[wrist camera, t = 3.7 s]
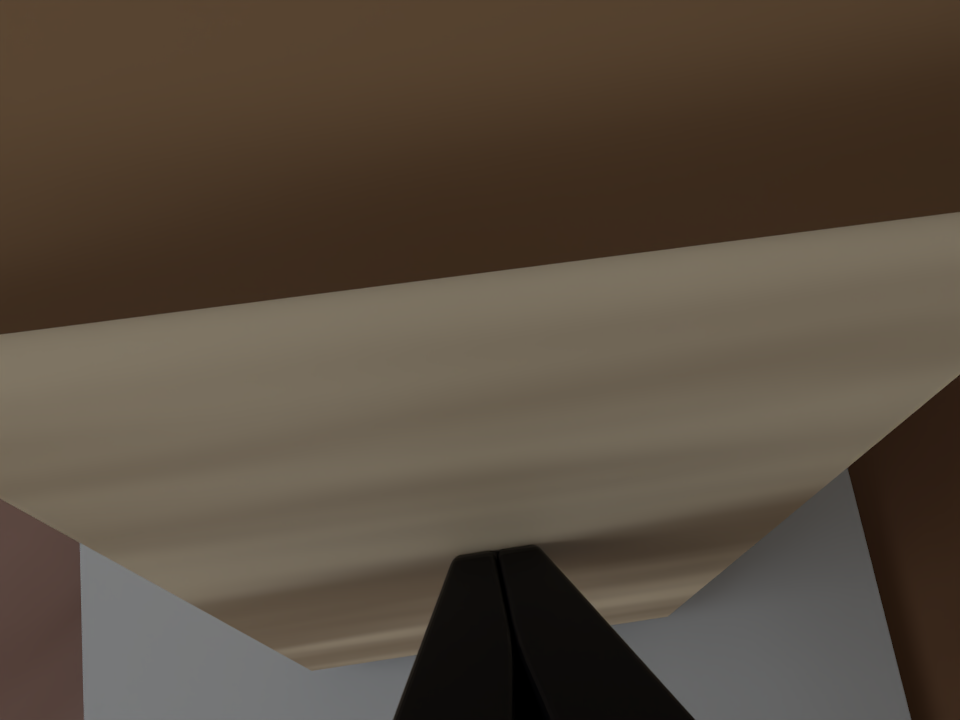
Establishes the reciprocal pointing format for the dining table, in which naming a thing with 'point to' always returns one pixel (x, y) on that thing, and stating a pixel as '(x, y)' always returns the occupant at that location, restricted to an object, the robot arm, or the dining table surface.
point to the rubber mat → (658, 642)
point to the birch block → (462, 287)
